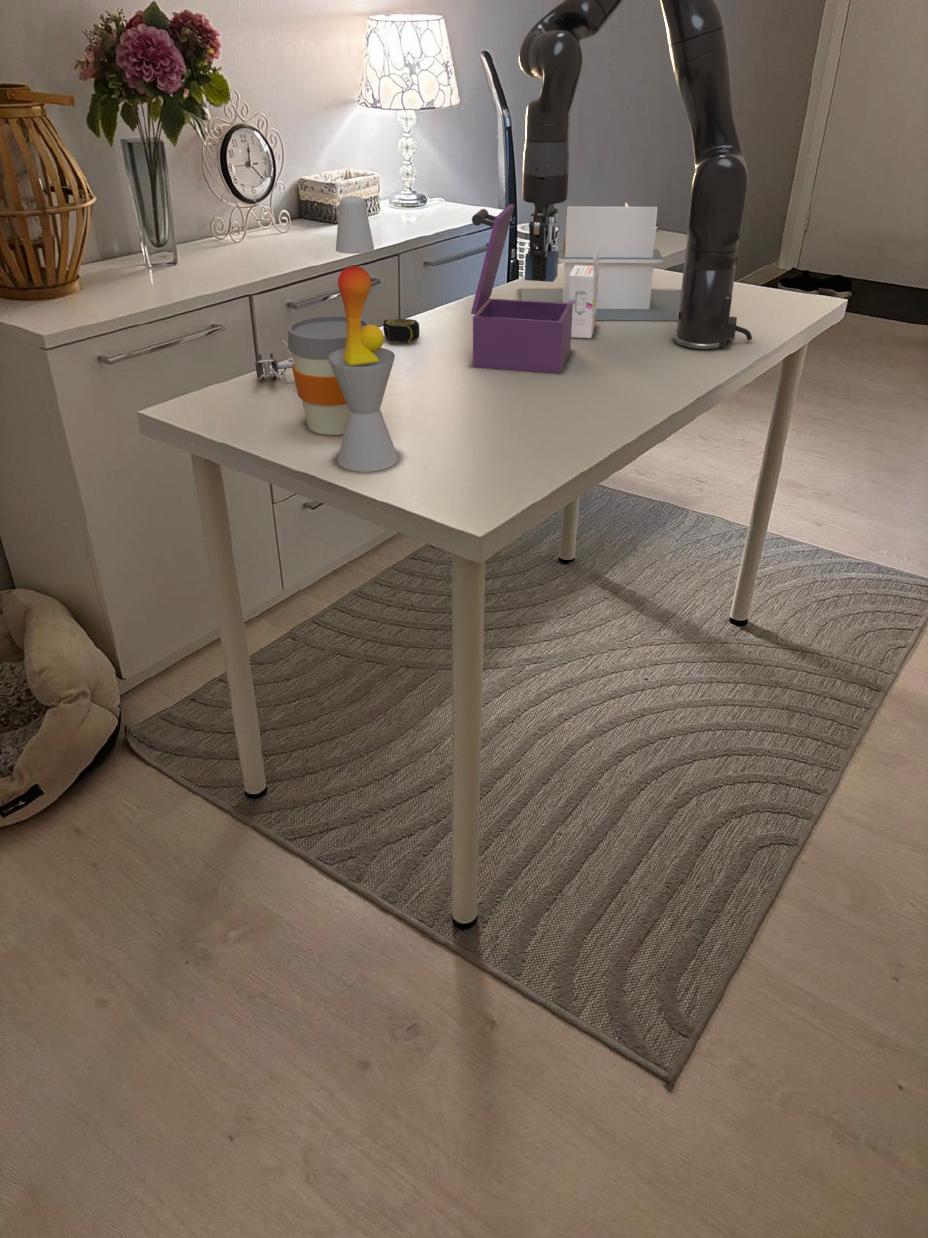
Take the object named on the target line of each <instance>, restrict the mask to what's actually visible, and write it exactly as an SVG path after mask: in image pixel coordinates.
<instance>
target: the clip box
mask: <svg viewBox="0 0 928 1238" xmlns="http://www.w3.org/2000/svg"><path fill="white" fill-rule="evenodd" d="M558 251H559V250H552V251H547V253H548V255H547V258H546V278H545V280H544V281H543V282H547V283H554V281H556V279H557V277H558V268H559V262H558ZM529 252H530V250H528V252H526V254H525V258H524V259H525V260H524V262H525V263H524V281H531V282H532V281H533V282H535V281H534V280H533V279H532V273H533V258H532V256H530V254H529Z"/></svg>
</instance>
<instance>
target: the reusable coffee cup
mask: <svg viewBox="0 0 928 1238" xmlns="http://www.w3.org/2000/svg"><path fill="white" fill-rule="evenodd" d="M366 325H371V323H370V322H369V321H367V320H365V319H363V318H361V328H362V327H364V326H366ZM287 331H288V333H287V334H288V337H287V341H288V342H287V344H288V346H287V349H288V350H289V351H290V353H291V354H292V355H291V358H292V360H293V362H294V364H293V365H292V368H291V370H292V375H293V378H294V383H295V388H296V392H297V396H298V398H299V399H300V400H301V402H302V406H303V410H304V411H303V412H304V415H305V419H306V424H307V427H308V429H309V430H310V431H312V432H313V433H317V434H321V435H328V436H340V435H344V431H345V426H346V422H347V418H348V414H349V408H348V405H347V403H346V401H345V398H344V396H343V393H342V391H341V389H340V386H339V384H338V382H337V379H336V377H335V375H334V372H333V370H332V368H331V365H330V363H329V360H328V357H329V355H330V354H331V353H333V352H334V351H337V350H340V349H344V348H345V347H346V341H347V322H346V315H321V316H312V317H307V318H303V319H300V320H297V321H294V322H293V323H291V324H290V325H289V326H288V330H287Z"/></svg>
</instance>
